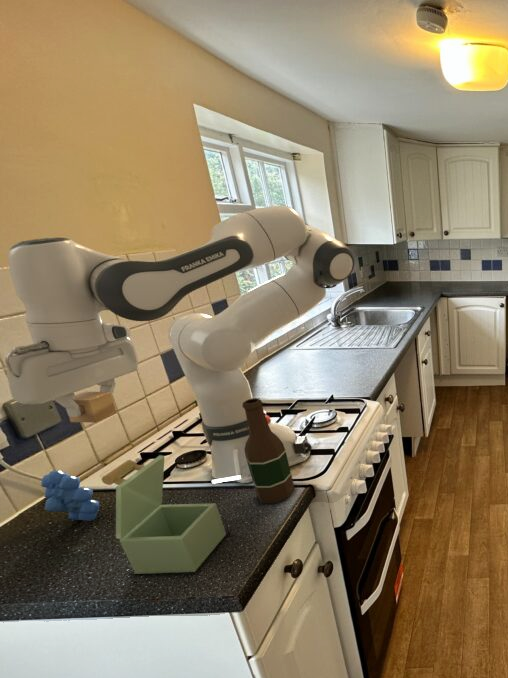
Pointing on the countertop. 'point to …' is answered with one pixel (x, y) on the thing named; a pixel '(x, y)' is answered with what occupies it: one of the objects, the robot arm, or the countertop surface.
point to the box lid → (136, 492)
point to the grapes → (69, 496)
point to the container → (174, 538)
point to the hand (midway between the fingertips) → (92, 409)
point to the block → (94, 406)
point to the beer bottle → (266, 457)
